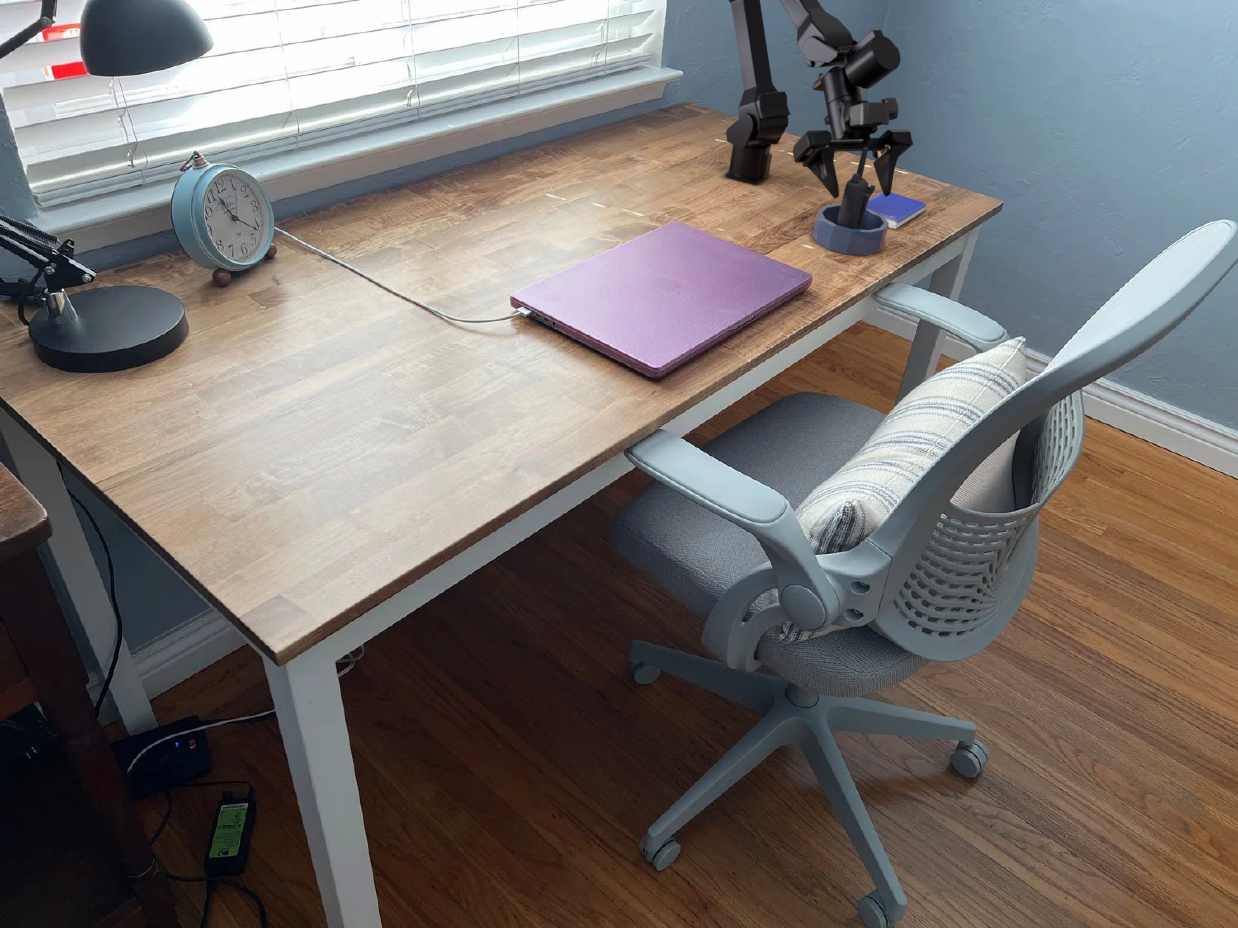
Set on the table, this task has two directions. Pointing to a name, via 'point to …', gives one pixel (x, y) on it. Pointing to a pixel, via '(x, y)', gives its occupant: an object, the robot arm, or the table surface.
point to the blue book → (896, 208)
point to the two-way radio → (855, 197)
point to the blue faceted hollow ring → (850, 232)
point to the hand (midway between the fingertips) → (862, 196)
